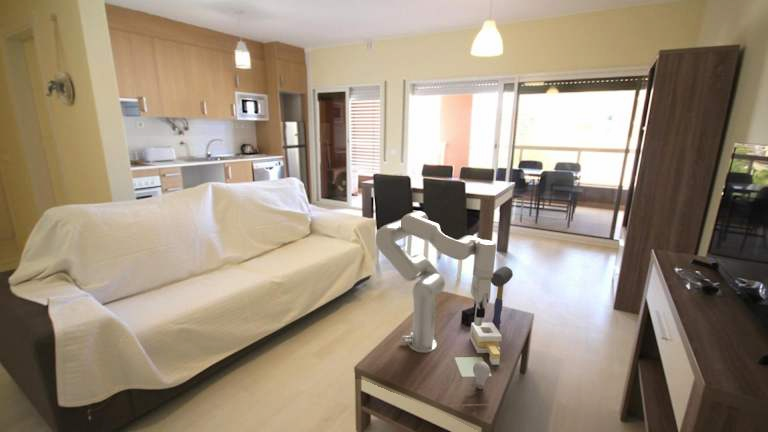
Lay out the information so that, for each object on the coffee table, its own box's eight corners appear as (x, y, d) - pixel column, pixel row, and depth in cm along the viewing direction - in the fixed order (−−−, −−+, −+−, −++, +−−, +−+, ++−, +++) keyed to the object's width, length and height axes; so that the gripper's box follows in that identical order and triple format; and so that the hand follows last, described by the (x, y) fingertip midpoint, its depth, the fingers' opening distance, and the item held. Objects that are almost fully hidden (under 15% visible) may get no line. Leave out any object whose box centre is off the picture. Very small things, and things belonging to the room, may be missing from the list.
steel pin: (474, 326, 139) (477, 294, 136) (471, 321, 144) (474, 289, 140) (485, 327, 140) (488, 294, 136) (481, 321, 144) (484, 289, 140)
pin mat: (462, 377, 138) (462, 376, 138) (454, 358, 150) (454, 357, 150) (491, 377, 139) (492, 376, 139) (481, 358, 151) (482, 357, 151)
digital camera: (468, 328, 174) (469, 315, 172) (460, 323, 178) (461, 310, 176) (483, 322, 179) (484, 310, 178) (475, 317, 184) (476, 305, 182)
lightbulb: (468, 389, 132) (471, 364, 129) (474, 380, 137) (476, 355, 134) (484, 396, 129) (487, 370, 126) (490, 387, 134) (492, 361, 131)
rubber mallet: (498, 333, 170) (505, 275, 163) (483, 327, 175) (489, 270, 168) (508, 322, 179) (514, 267, 172) (493, 317, 184) (499, 263, 177)
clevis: (483, 365, 146) (485, 347, 144) (469, 339, 164) (471, 322, 162) (507, 365, 146) (509, 347, 144) (490, 338, 165) (492, 322, 163)
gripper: (468, 263, 144) (464, 304, 148) (479, 280, 128) (475, 325, 133) (486, 264, 144) (481, 305, 149) (500, 280, 129) (494, 326, 133)
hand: (478, 314), depth 141 cm, fingers closed on steel pin, 3 cm apart
